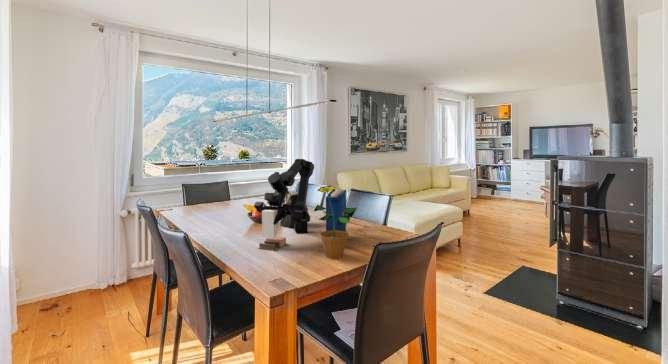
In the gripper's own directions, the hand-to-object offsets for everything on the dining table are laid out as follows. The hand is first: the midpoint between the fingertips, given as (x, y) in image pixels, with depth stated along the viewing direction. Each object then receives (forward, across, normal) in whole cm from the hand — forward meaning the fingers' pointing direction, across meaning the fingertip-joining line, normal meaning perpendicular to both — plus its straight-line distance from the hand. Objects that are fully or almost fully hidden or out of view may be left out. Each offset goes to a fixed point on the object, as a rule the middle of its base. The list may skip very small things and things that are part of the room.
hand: (267, 223), depth 156 cm
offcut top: (+2, 0, +12) cm, 12 cm away
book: (-9, +23, +27) cm, 37 cm away
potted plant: (+7, +31, +11) cm, 34 cm away
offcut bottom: (+3, 0, +13) cm, 14 cm away
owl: (-24, -12, +42) cm, 50 cm away
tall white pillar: (+4, 0, +5) cm, 6 cm away
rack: (+6, 0, +12) cm, 13 cm away
